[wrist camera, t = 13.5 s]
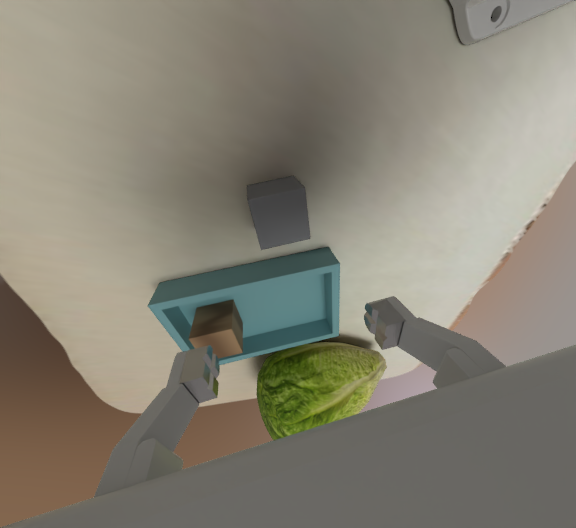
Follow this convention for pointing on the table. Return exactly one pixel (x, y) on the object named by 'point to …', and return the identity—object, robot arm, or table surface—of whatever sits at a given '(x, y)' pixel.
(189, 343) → the teal tray
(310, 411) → the lettuce
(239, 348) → the walnut block
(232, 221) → the table surface
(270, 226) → the charcoal block
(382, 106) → the table surface
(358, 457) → the robot arm
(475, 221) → the table surface
